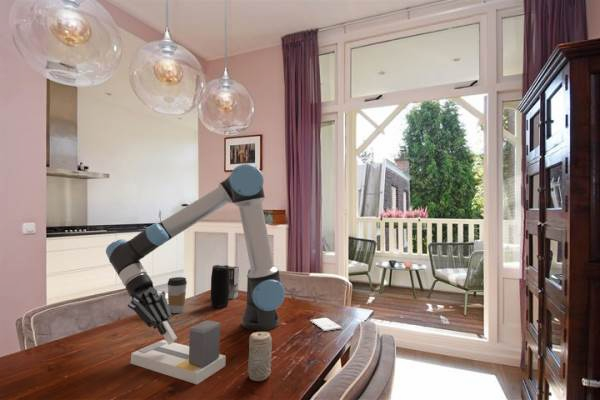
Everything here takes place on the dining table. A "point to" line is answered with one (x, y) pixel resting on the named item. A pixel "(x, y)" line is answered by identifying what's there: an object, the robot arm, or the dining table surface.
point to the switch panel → (175, 361)
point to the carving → (259, 356)
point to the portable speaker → (220, 286)
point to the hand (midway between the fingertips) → (172, 341)
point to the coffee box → (233, 282)
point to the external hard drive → (325, 324)
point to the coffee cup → (176, 294)
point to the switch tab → (204, 343)
